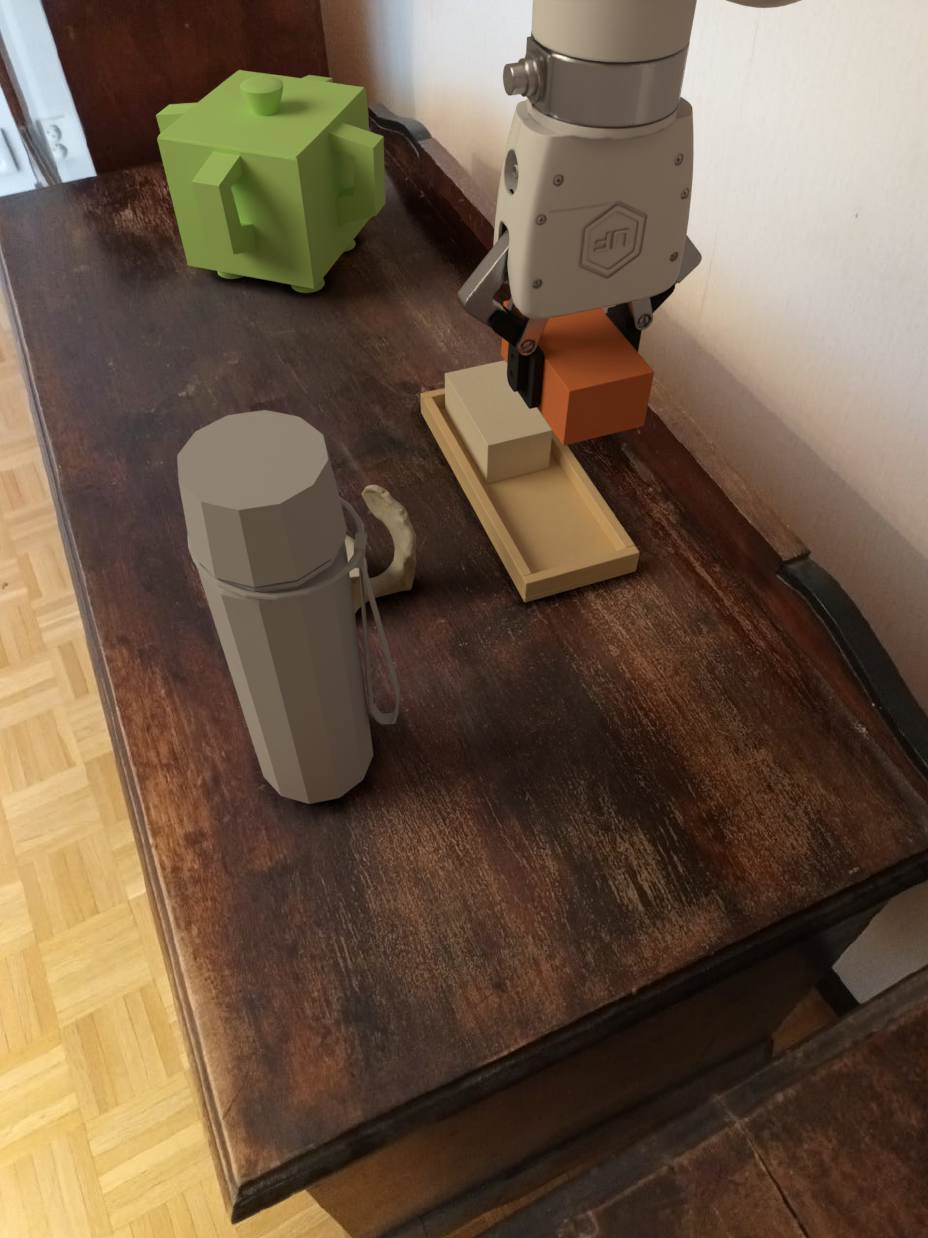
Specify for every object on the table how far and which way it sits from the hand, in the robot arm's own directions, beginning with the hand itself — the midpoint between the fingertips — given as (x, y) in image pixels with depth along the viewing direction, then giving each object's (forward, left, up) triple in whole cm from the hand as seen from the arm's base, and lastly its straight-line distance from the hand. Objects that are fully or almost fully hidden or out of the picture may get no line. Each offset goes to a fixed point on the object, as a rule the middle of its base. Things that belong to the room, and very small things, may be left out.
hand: (570, 382), depth 59 cm
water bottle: (+12, +21, -15) cm, 29 cm away
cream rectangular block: (+6, -11, -15) cm, 20 cm away
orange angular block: (0, 0, 0) cm, 0 cm away
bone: (+14, +7, -15) cm, 22 cm away
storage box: (+33, -38, -15) cm, 52 cm away
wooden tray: (+3, -7, -15) cm, 17 cm away
